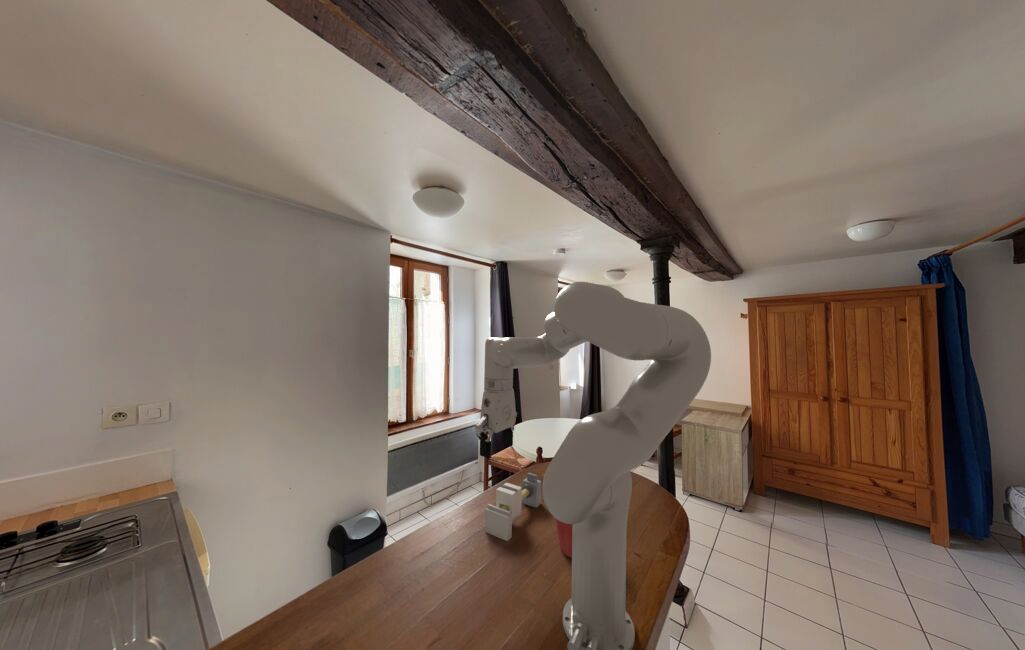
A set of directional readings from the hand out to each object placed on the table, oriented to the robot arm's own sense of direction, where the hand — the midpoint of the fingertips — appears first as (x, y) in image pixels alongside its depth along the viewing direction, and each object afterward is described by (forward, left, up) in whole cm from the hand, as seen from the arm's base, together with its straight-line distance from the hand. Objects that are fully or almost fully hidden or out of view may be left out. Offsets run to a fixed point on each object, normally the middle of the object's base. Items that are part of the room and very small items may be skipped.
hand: (496, 450), depth 82 cm
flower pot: (+8, -19, -23) cm, 31 cm away
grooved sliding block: (+7, 0, -20) cm, 21 cm away
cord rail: (+12, 0, -23) cm, 26 cm away
